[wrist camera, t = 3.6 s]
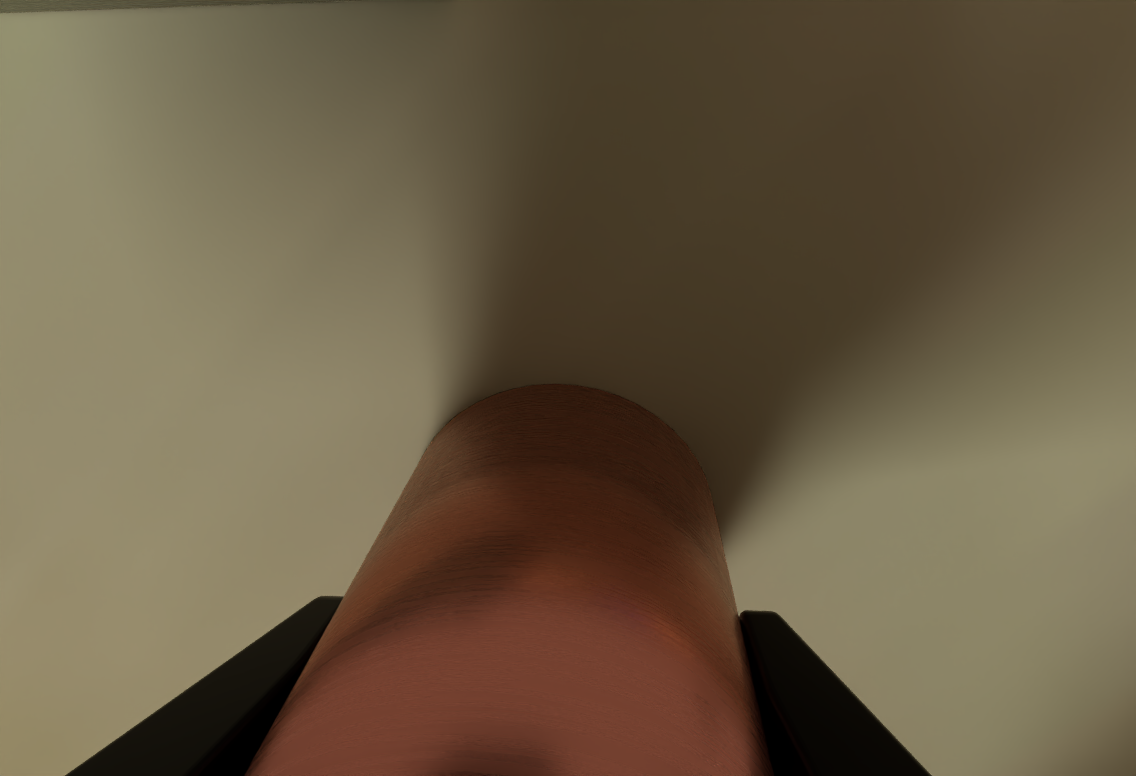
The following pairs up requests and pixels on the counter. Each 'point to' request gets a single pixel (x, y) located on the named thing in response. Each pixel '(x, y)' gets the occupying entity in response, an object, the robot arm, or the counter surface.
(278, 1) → the grey piece
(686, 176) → the counter surface
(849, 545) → the counter surface
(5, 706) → the counter surface
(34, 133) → the counter surface
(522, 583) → the spout can
